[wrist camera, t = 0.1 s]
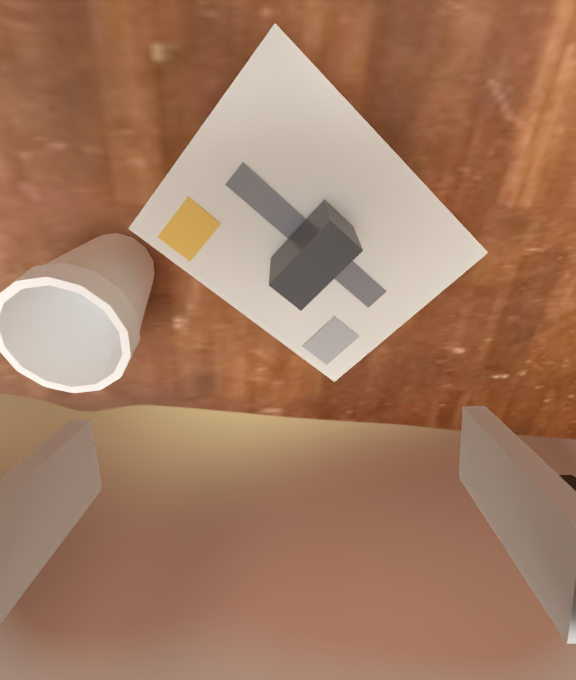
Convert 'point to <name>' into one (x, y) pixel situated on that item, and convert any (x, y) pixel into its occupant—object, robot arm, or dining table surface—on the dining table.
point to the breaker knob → (313, 256)
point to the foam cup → (78, 314)
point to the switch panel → (304, 211)
